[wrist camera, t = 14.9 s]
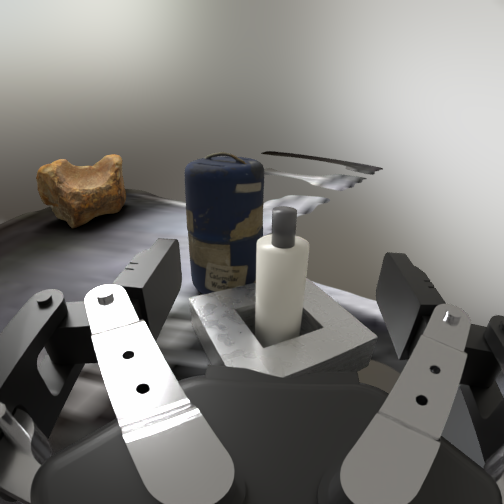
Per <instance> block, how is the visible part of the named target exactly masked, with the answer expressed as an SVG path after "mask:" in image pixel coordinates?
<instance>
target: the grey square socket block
mask: <svg viewBox="0 0 504 504" xmlns="http://www.w3.org/2000/svg"><path fill="white" fill-rule="evenodd" d="M189 303H190V312H191V320H192V327H193V329H194V331H195V333H196V335H197V337H198V339H199V341H200V343H201V345H202V347H203V349H204V351H205V353H206V355H207V357H208V359H209V361H210V363H211V365H217V366H228V367H239V368H247V369H250V370H254V371H258V372H262V373H265V374H269V375H273V376H277V377H282V378H287V377H294V376H300V375H306V374H312V373H317V372H357V371H359V370H361V369H363V368H365V367H367V366H368V365H369V362H370V359H371V356H372V353H373V350H374V347H375V344H376V340H377V336H376V335H375V334H374V333H373V332H371V331H370V330H369V329H368V328H367V327H365V326H364V325H363V324H362V323H361V322H360V321H358V320H357V319H356V318H355V317H354V316H352V315H351V314H350V313H349V312H348V311H346V310H345V309H344V308H343V307H342V306H340V305H339V304H338V303H337V302H336V301H334V300H333V299H332V298H331V297H330V296H328V295H327V294H326V293H325V292H324V291H322V290H321V289H320V288H319V287H318V286H316V285H315V284H314V283H313V282H311V281H310V280H309V279H308V278H307V277H306V285H305V294H304V303H303V311H302V320H301V328H300V335H299V337H296V338H293V339H290V340H287V341H284V342H281V343H278V344H275V345H272V346H269V347H266V348H263V347H262V346H261V344H260V343H259V342H258V340H257V339H256V338H255V336H254V335H253V334H252V333H255V306H256V283H252V284H248V285H244V286H239V287H235V288H231V289H226V290H222V291H217V292H213V293H209V294H204V295H200V296H195V297H191V298H189Z"/></svg>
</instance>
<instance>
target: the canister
mask: <svg viewBox="0 0 504 504" xmlns="http://www.w3.org/2000/svg"><path fill="white" fill-rule="evenodd" d="M217 156H229V157H217ZM263 189H264V168H263V165H262V164H261V163H260V162H258V161H257V160H254V159H250V158H243V157H236V156H234V155H232V154H229V153H225V152H220V153H214V154H211V155H208V156H207V157H206V158H202V159H198V160H195V161H193V162H190V163H189V164H188V165H187V166H186V168H185V194H186V215H187V229H188V238H189V252H190V263H191V276H192V281H193V284H194V286H195V287H196V289H197V290H198V291H200V292H201V293H202V294H209V293H213V292H217V291H222V290H226V289H231V288H235V287H239V286H244V285H248V284H252V283H256V252H257V241H258V239H260V238H261V237H263Z"/></svg>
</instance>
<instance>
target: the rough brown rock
mask: <svg viewBox="0 0 504 504" xmlns="http://www.w3.org/2000/svg"><path fill="white" fill-rule="evenodd" d="M36 179H37V182H38V191H39V194H40V197H41V199H42V201H43V203H44V204H46V205H49V206H51V208H52V210H53V212H54V213H55V215H56V216H57V218H59V219H61V220H64V221H67V223H68V224H69V226H70V227H71V228H77V227H79V226H81V225H83V224H86V223H87V222H89V221H90V220H92V219H93V218H95V217H97V216H99V215H103V214H114V213H117V212H119V211H120V210H121V208H122V206H123V205H124V203H125V200H126V193H125V188H124V181H123V176H122V158H121V157H120V156H119V155H114V154H113V155H107V156H105V157H104V158H103V159H102V160H101V161H99V162H97V163H96V164H95V165H94V166H82V167H79V166H74V165H72V164H70V163H69V162H68V161H67V160H65V159H62V160H61V159H60V160H57V161H54V162H53V163H52V164H47V165H44V166H42V167H41V168H40V169H39V170H38V173H37V177H36Z"/></svg>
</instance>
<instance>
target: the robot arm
mask: <svg viewBox="0 0 504 504" xmlns="http://www.w3.org/2000/svg"><path fill="white" fill-rule="evenodd" d="M181 283H182V273H181V261H180V249H179V242H178V240H177V239H161V238H159V239H157V240H156V242H155V243H154V244H153V245H152V247H151V248H150V249H149V250H144V251H142V252H140V253H139V254H137V255H135V257H134V258H133V259H132V260H131V261H130V264H128V265H127V266H126V267H125V269H124V270H123V271H122V272H121V274H120V275H119V276H118V277H117V279H116V280H115V281H114V282H113V284H112V285H103V286H99V287H97V288H95V289H93V290H91V291H90V292H89V293H88V294H87V295H86V297H85V301H81V302H68V303H66V302H65V299H64V296H63V293H62V292H61V291H59V290H55V289H49V290H44V291H41V292H39V293H37V294H35V295H34V296H32V297H31V298H30V299H29V301H28V302H27V303H26V304H25V305H24V306H23V307H22V308H21V310H20V311H19V312H18V313H17V314H16V315H15V317H14V318H13V319H12V320H11V321H10V323H9V324H8V325H7V326H6V327H5V329H4V330H3V331H2V332H1V334H0V498H2V499H3V500H5V501H8V502H15V501H19V502H21V503H23V504H504V398H503V396H502V394H501V392H500V389H499V387H498V385H497V383H496V381H495V380H496V378H497V377H498V375H499V373H500V372H501V370H502V371H503V373H504V316H499V315H498V316H493V317H492V318H491V319H490V321H489V324H488V326H487V327H484V326H479V325H474V324H471V319H470V317H469V315H468V314H467V313H466V312H465V311H464V310H462V309H461V308H459V307H457V306H454V305H450V304H446V303H445V301H444V300H443V299H442V297H441V296H440V294H439V293H438V291H437V290H436V288H434V285H433V284H432V282H430V280H429V278H428V277H427V275H426V274H425V273H424V272H423V271H421V270H420V269H419V268H417V267H416V266H414V265H413V264H412V263H411V261H410V260H409V258H408V257H407V256H406V254H403V253H388V252H387V253H386V254H385V256H384V260H383V264H382V268H381V272H380V276H379V280H378V284H377V289H376V301H377V304H378V306H379V309H380V311H381V314H382V316H383V319H384V321H385V324H386V326H387V329H388V332H389V334H390V337H391V339H392V342H393V345H394V347H395V350H396V353H397V355H398V358H399V360H407V359H409V360H408V362H407V364H406V366H405V368H404V370H403V371H402V373H401V375H400V377H399V378H398V380H397V382H396V384H395V386H394V387H393V389H392V391H391V392H390V394H388V393H386V392H385V391H383V390H381V389H379V388H377V387H374V386H371V385H367V384H364V383H360V382H359V378H358V373H357V372H317V373H312V374H306V375H300V376H294V377H287V378H282V377H277V376H273V375H269V374H265V373H262V372H258V371H254V370H250V369H247V368H239V367H228V366H217V365H208V367H207V371H206V375H202V376H195V377H190V378H187V379H183V380H181V381H178V382H177V380H176V378H175V377H174V375H173V373H172V371H171V370H170V368H169V366H168V364H167V363H166V361H165V359H164V357H163V355H162V354H161V352H160V350H159V348H158V346H157V344H156V340H157V338H158V336H159V333H160V331H161V329H162V327H163V325H164V323H165V321H166V318H167V316H168V314H169V312H170V310H171V308H172V306H173V304H174V302H175V299H176V297H177V295H178V293H179V291H180V288H181ZM43 347H45V349H46V351H47V355H46V356H45V358H44V360H43V361H42V363H41V364H40V366H39V368H37V358H38V355H39V353H40V352H41V350H42V349H43ZM85 363H99V365H100V368H101V372H102V375H103V378H104V381H105V384H106V388H107V391H108V394H109V396H110V399H111V402H112V405H113V408H114V411H115V413H116V416H117V418H116V419H115V420H113V421H111V422H110V423H108V424H106V425H105V426H103V427H101V428H100V429H98V430H96V431H95V432H93V433H91V434H90V435H88V436H86V437H84V438H83V439H81V440H79V441H77V442H76V443H74V444H72V445H70V446H69V447H67V448H65V449H63V450H61V451H60V452H58V453H56V454H54V455H53V456H51V445H50V442H49V440H48V438H49V436H50V434H51V432H52V430H53V427H54V425H55V423H56V421H57V419H58V417H59V414H60V412H61V410H62V408H63V406H64V404H65V402H66V400H67V398H68V396H69V394H70V392H71V390H72V388H73V386H74V384H75V382H76V380H77V378H78V376H79V374H80V372H81V370H82V368H83V367H84V365H85ZM458 386H460V388H461V391H462V394H463V396H464V399H465V402H466V405H467V407H468V410H469V413H470V416H471V419H472V422H473V425H474V428H475V431H476V434H477V437H478V441H479V444H480V447H481V451H482V454H483V458H484V461H485V465H484V468H482V467H480V466H479V465H478V464H477V463H475V462H474V461H473V460H471V459H470V458H469V457H468V456H466V455H465V454H464V453H463V452H461V451H460V450H459V449H457V448H456V447H455V446H454V445H452V444H451V443H450V442H449V441H447V440H446V439H445V438H444V437H442V436H441V434H442V431H443V429H444V426H445V423H446V421H447V418H448V415H449V413H450V410H451V407H452V404H453V401H454V398H455V395H456V392H457V389H458ZM50 456H51V457H50Z"/></svg>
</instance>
